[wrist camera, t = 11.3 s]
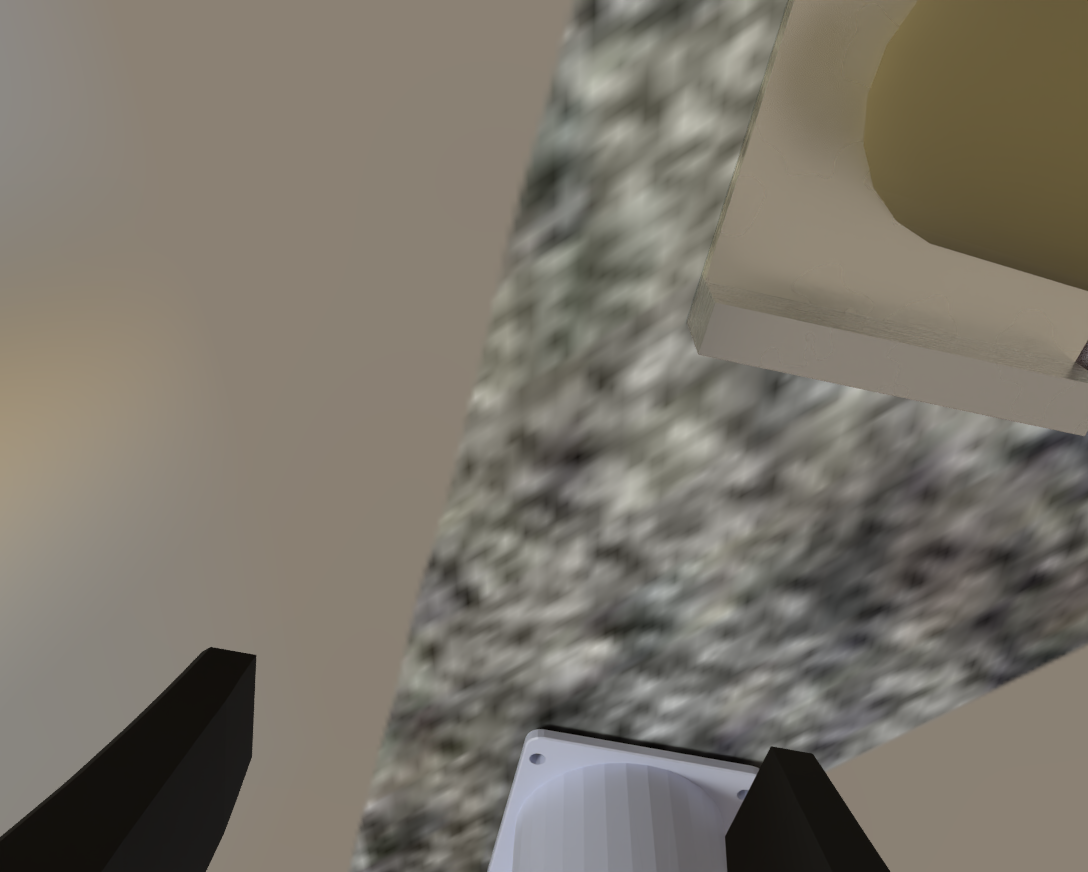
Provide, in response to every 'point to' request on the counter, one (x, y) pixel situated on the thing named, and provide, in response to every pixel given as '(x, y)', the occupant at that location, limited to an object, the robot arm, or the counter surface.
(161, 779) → the robot arm
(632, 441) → the counter surface
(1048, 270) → the brown rounded piece
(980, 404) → the bottom track
